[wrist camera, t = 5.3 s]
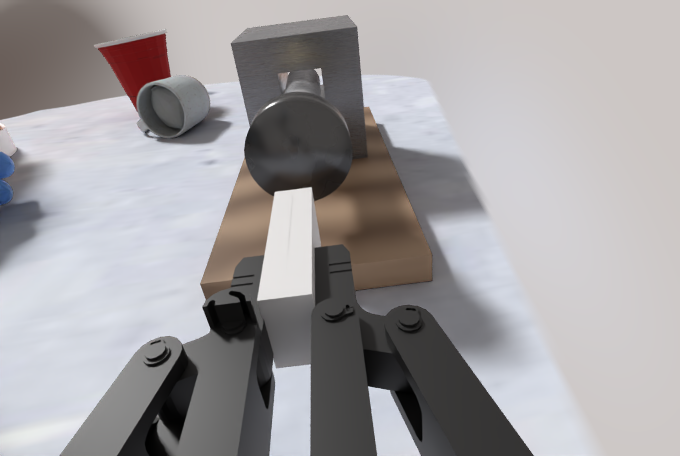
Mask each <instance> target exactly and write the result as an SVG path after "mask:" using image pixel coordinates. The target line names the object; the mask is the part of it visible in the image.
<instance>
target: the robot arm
mask: <svg viewBox="0 0 680 456" xmlns="http://www.w3.org/2000/svg"><path fill="white" fill-rule="evenodd" d="M203 310H204V313H205V315H206V318H207V320H208V323H209V326H210V328H211V329H210V333H208V334H207V335H205V336H203V337H201V338H199V339H196V340H193V341H191V342H188V343H185V344H182V343H181V342H180V341H179V340H178V339H177V338H175V337H171V336H165V337H159V338H156V339H154V340H151V341H149V342H148V343H146V344H145V345H143V346H142V347H141V348H140V349H139V350H138V351H137V352H136V353H135V354H134V356H133V357H132V358H131V360H130V361H129V362H128V364H127V365H126V366H125V368H124V369H123V370H122V372H121V373H120V374H119V376H118V377H117V379H116V380H115V381H114V383H113V384H112V385H111V387H110V388H109V389H108V391H107V392H106V393H105V395H104V396H103V397H102V399H101V400H100V402H99V403H98V404H97V406H96V407H95V408H94V410H93V411H92V412H91V414H90V415H89V416H88V418H87V419H86V420H85V422H84V423H83V425H82V426H81V427H80V429H79V430H78V431H77V433H76V434H75V435H74V437H73V438H72V439H71V441H70V442H69V443H68V445H67V446H66V448H65V449H64V450H63V452H62V453H61V454H60V456H269V451H270V439H271V427H272V415H273V403H274V391H275V380H274V375H273V372H272V365H273V359H274V362H275V366H276V368H283V367H291V366H299V365H307V364H311V453H310V456H377V451H376V444H375V436H374V429H373V421H372V414H371V406H370V399H369V391H368V386H370V387H375V388H381V389H387V390H390V392H391V395H392V397H393V399H394V401H395V403H396V405H397V407H398V409H399V411H400V413H401V415H402V417H403V419H404V421H405V423H406V426H407V428H408V430H409V432H410V434H411V436H412V438H413V440H414V442H415V444H416V446H417V448H418V450H419V452H420V454H421V456H534V455H533V454H532V453H531V451H530V450H529V448H528V447H527V446H526V444H525V443H524V442H523V440H522V439H521V437H520V436H519V435H518V433H517V432H516V431H515V429H514V428H513V426H512V425H511V424H510V422H509V421H508V419H507V418H506V417H505V415H504V414H503V413H502V411H501V410H500V408H499V407H498V406H497V404H496V403H495V402H494V400H493V399H492V397H491V396H490V395H489V393H488V392H487V391H486V389H485V388H484V386H483V385H482V384H481V382H480V381H479V379H478V378H477V377H476V375H475V374H474V373H473V371H472V370H471V368H470V367H469V366H468V364H467V363H466V362H465V360H464V359H463V357H462V356H461V355H460V353H459V352H458V351H457V349H456V348H455V346H454V345H453V344H452V342H451V341H450V339H449V338H448V337H447V335H446V334H445V333H444V331H443V330H442V328H441V327H440V326H439V324H438V323H437V322H436V320H435V319H434V317H433V316H432V315H431V314H430V313H429V312H428V311H427V310H426V309H423V308H421V307H419V306H413V305H404V306H399V307H397V308H394V309H392V310H391V311H390V312H389V313H388V314H387V315H386V316H381V315H375V314H371V313H369V312H366V311H365V310H363V309H362V308H361V307H360V306H359V305H358V303H357V300H356V295H355V288H354V281H353V273H352V266H351V259H350V252H349V251H348V250H347V248H346V247H345V246H344V245H343V244H339V245H332V246H324V247H321V241H320V235H319V229H318V223H317V217H316V210H315V204H314V198H313V192H312V187H309V188H302V189H294V190H286V191H278V192H275V194H274V200H273V206H272V212H271V218H270V225H269V231H268V237H267V243H266V249H265V255H260V256H252V257H244V258H243V259H242V260H241V261H240V262H239V263H238V265H237V266H236V267H235V270H234V274H233V279H232V282H231V287H230V288H229V289H225V290H221V291H219V292H217V293H215V294H213V295H212V296H211V297H210V298H208V299H207V300H206V301H205V303H204V305H203Z"/></svg>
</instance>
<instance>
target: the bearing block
mask: <svg viewBox="0 0 680 456" xmlns="http://www.w3.org/2000/svg"><path fill="white" fill-rule="evenodd" d="M231 46H232V50H233V55H234V59H235V64H236V68H237V72H238V76H239V81H240V85H241V90H242V94H243V98H244V103H245V107H246V111H247V116H248V120H249V124H250V126H251V123H252V121H253V119H254V117H255V115H256V113H257V112H258V111H259V109H260V108H261V107H262V106H263V105H264V104H265V103H266V102H268V101H269V100H271V99H272V98H274V97H276V96H278V95H281V94H284V92H285V88H286V83H287V78H288V73H287V72H294V71H302V70H309V69H317V68H321V69H322V78H323V85H320V90H321V97H322V98H324V99H326V100H327V101H329V102H330V103H331V104H333V105H334V106H335V107H336V108H337V109H338V111H339V112H340V113H341V115H342V116H343V118H344V120H345V122H346V124H347V127H348V130H349V134H350V138H351V143H352V150H353V157H352V159H360V158H367V157H368V153H367V141H366V129H365V117H364V105H363V93H362V81H361V69H360V56H359V44H358V32H357V26H356V25H355V24H354V22H353V21H352V20H351V19H350V18H349V16H348V15H345V16H338V17H330V18H322V19H315V20H307V21H300V22H292V23H284V24H276V25H269V26H261V27H254V28H247V29H246V30H245V31H244V32H243V33H242V34H241V35H239V36H238V37H237V38H236V39H235V40H234V41H233V42H232V43H231Z"/></svg>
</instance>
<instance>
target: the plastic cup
mask: <svg viewBox="0 0 680 456" xmlns="http://www.w3.org/2000/svg"><path fill="white" fill-rule="evenodd" d="M165 33H166V29H165V30H159V31H154V32H150V33H145V34H140V35H136V36H131V37H127V38H122V39H118V40H113V41H109V42H105V43H100V44H97V45H94V46H95V48H98V50H99V51H100V52H101V53H102V55H103V56H104V57H105V58H106V60H107V61H108V63H109V64H110V66H111V67H112V69H113V71H114V73H115V74H116V76H117V78H118V80H119V81H120V83H121V85H122V87H123V88H124V90H125V92H126V94H127V95H128V96H129V98H130V100H131V101H132V103H133V105H134V107H135V109H136V111H137V104H136V102H137V96H138V93H139V91H140V89H141V88H142V87H143V86H144V85H146V84H147V83H150V82H154V81H158V80H162V79H166V78H169V77H171V75H170V69H169V62H168V57H167V47H166V35H165ZM137 112H138V111H137Z"/></svg>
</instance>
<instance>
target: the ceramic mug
mask: <svg viewBox="0 0 680 456" xmlns="http://www.w3.org/2000/svg"><path fill="white" fill-rule="evenodd" d="M136 104H137V111H138V114H139V116H140V118H141V119H140V120H139V121H138V122H137V125H138V127H139V128H140V129H141V131H142V132H147V131H148V130H150V131H151V132H153V133H154V134H156V135H158V136H160V137H163V138H175V137H178V136H179V135H181V134H182V133H184V132H186V131H187V130H189V129H190V128H192V127H193V126H194V125H196V124H198V123H199V122H201V121H202V120H203V119H204V118H205V117H206V115H207V114H208V111H209V109H210V98H209V95H208V92H207V90H206V89H205V87H204V86H203V85H202V84H201V83H200V82H199V81H198V80H197V79H195V78H193V77H190V76H186V75H178V76H173V77H169V78H166V79H162V80H158V81H154V82H150V83H147V84H146V85H144V86H143V87H142V88H141V89H140V91H139V93H138V96H137V102H136Z"/></svg>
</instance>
